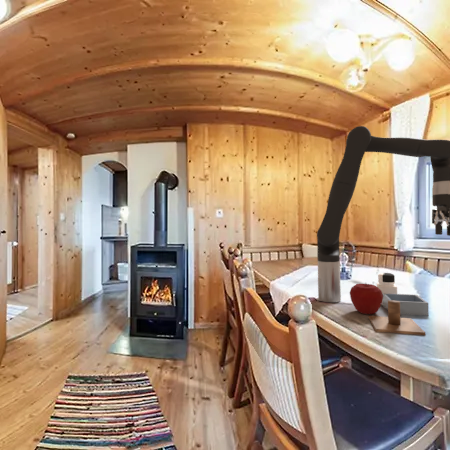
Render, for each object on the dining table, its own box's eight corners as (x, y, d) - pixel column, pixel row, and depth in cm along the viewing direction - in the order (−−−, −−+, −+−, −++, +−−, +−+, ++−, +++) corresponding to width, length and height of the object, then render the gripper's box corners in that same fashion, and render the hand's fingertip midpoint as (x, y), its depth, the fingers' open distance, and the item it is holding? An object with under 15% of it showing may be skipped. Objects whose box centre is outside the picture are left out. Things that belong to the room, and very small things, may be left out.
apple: (344, 312, 111) (343, 281, 111) (364, 308, 115) (363, 278, 115) (368, 320, 101) (367, 286, 100) (390, 316, 105) (389, 283, 105)
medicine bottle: (395, 300, 125) (395, 272, 125) (397, 304, 119) (396, 275, 119) (376, 298, 128) (376, 271, 128) (377, 303, 122) (377, 274, 122)
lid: (376, 331, 89) (375, 306, 89) (368, 318, 101) (367, 295, 101) (425, 335, 85) (424, 308, 85) (411, 320, 97) (410, 297, 97)
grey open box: (390, 314, 106) (390, 301, 106) (382, 305, 117) (382, 293, 117) (428, 317, 102) (428, 302, 102) (416, 307, 114) (416, 294, 114)
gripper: (424, 195, 122) (425, 234, 122) (443, 192, 108) (443, 236, 108) (445, 194, 120) (445, 234, 120) (466, 191, 106) (466, 235, 106)
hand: (444, 235), depth 114 cm, fingers open, 8 cm apart
